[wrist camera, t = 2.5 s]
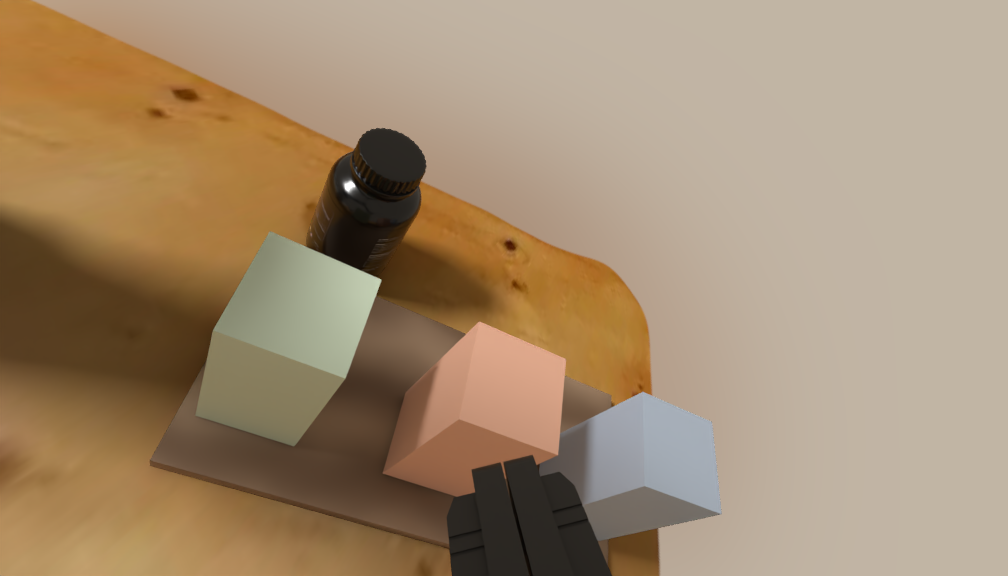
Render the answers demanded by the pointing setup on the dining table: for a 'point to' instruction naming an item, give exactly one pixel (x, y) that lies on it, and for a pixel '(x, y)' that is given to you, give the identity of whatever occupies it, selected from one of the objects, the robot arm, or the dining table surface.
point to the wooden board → (347, 436)
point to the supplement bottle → (369, 201)
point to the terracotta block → (478, 411)
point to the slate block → (640, 467)
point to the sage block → (284, 341)
